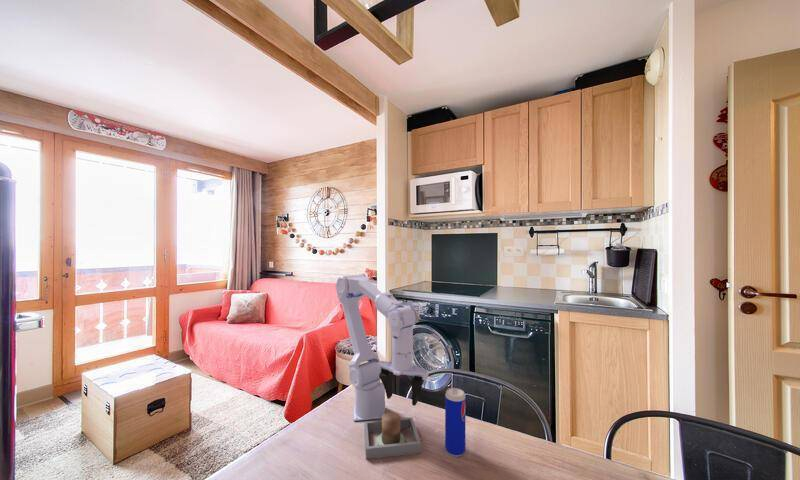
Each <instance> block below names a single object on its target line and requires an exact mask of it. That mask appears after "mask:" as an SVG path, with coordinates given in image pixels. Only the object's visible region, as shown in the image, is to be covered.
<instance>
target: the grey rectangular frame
mask: <svg viewBox="0 0 800 480" xmlns="http://www.w3.org/2000/svg"><path fill="white" fill-rule="evenodd" d="M415 424H416V423H415V422H414V418H413V417H412V416H411V417H400V430H402V429H410V432H411V435H412V439H413V441H407V442H406V441H405V443H396V444H387V445H378V444H377V445H371V446H370V443H369V442H370V441H369V433H372V432H382V419H377V420H366V421H364V425H363V427H364V428H363V430H364V431H363V432H364V445H365V447H364V448H365V449H364V450H365V451H364V452H365V460H371V459H377V458H378V459H380V458H387V457H388V458H389V457H395V456H397V457H398V456H405V455H414V454H415V455H416V454H421V453H422V443H421V439H420V436H419V432H418V430H417V427H416V425H415Z"/></svg>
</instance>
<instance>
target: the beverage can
mask: <svg viewBox="0 0 800 480" xmlns="http://www.w3.org/2000/svg"><path fill="white" fill-rule="evenodd" d="M444 396H445V401H444V403H445V405H444V414H445V415H444V416H445V421H444V422H445V426H444V428H445V429H444V433H445V434H444V435H445V436H444V445H445V446H444V448H445V451H446V452H447V453H448V454H449V456H452V457H455V458H457V457H458V458H459V457H461V456H463V455H464V454H465V453H466V401H467V399H466V398H467V397H466V394H465V391H464V390H462V389H461V388H457V387H451V388H448V389H447V390H446V392H445V395H444Z"/></svg>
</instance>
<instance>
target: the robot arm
mask: <svg viewBox="0 0 800 480" xmlns="http://www.w3.org/2000/svg"><path fill="white" fill-rule="evenodd" d="M335 290H336V294H337V297H338V302H339V303H340V304H341V306H342V310H343V314H344V319H345V324H346V327H347V331H348V334H349V339H350V343H351V347H352V351H353V357H352V358H351V360H350V361H349V363H348V370H349V375H348V376H349V382H350V384H351V385H352V386H353V387H354V388H355V389H354V405H353V421H354V422H357V421H358V422H359V421H372V420H382V416H383V415H384V414H385V413H386V412H385V411H386V410H385V409H386V399H387V400H390V399H391V398H392V396H393V393H394V387H393V386H394V383H393V382H394V375H395V376H401V375H403V376H404V375H405V376H409V377H414V378H412V379H411V380H410V384H411V385H410V386H411V396H412V397H411V405H412V406H416V405H417V404H418V402H419V396H420V392H421V389H422V386H423V384H424V382H425V381H427V380H428V379H429V370H428V369H424V368H422V367H419V366H417V365H414V364H413V363H414V362H413V361H414V360H413V358H414V357H413V356H414V355H413V354H414V351H413V350H414V349H413V347H414V346H413V345H414V344H413V343H414V342H413V341H414V335H413V334H414V329H413V328H414V326H415V325H416V324H417V323H418V313H417V311H416V309H415V308H414V307H413V306H412V305H411V304H406V305H405V304H403V302H401V301H399V300H398V299H397V298H395V297H394V296H392V295H393V294H392V293H390V292H382V291H380V290H379V289H378V288H377V287H376V286H375V285H374V284H373V283H372V282H371V279H370V277H369V276H367V274H365V273H361V274H348V275H340V276H338V278H337V280H336V284H335ZM364 296H365V297H367V298H368V299H369V300H371V301H372V302H373V303H374V307H375V309H376V310H377V311H378V312H380V314H382V315H383V316H384V317H385V318H386V319H387V323H388V326H389V328H390V335H391V361H386V360H380V358H379V354H378V353H376V352H374V351H373V350H371V349H370V344H369V341H368V337H367V333H366V330H365V326H364V322H363V319H362V313H361V311H360V308H359V303H360V301H361V300H362V299H363V298H364ZM361 363H362V364H361Z"/></svg>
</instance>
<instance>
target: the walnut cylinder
mask: <svg viewBox="0 0 800 480" xmlns="http://www.w3.org/2000/svg"><path fill="white" fill-rule="evenodd" d="M400 418H401V415H400V414H399V412H398V413H397V412H394V411H389V412H385V414H384V415H383V416H382V419H381V420H382V431H381V433H382V443H383V444H384V445H387V444H396V443H399V442H400V433H401V429H400Z"/></svg>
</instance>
